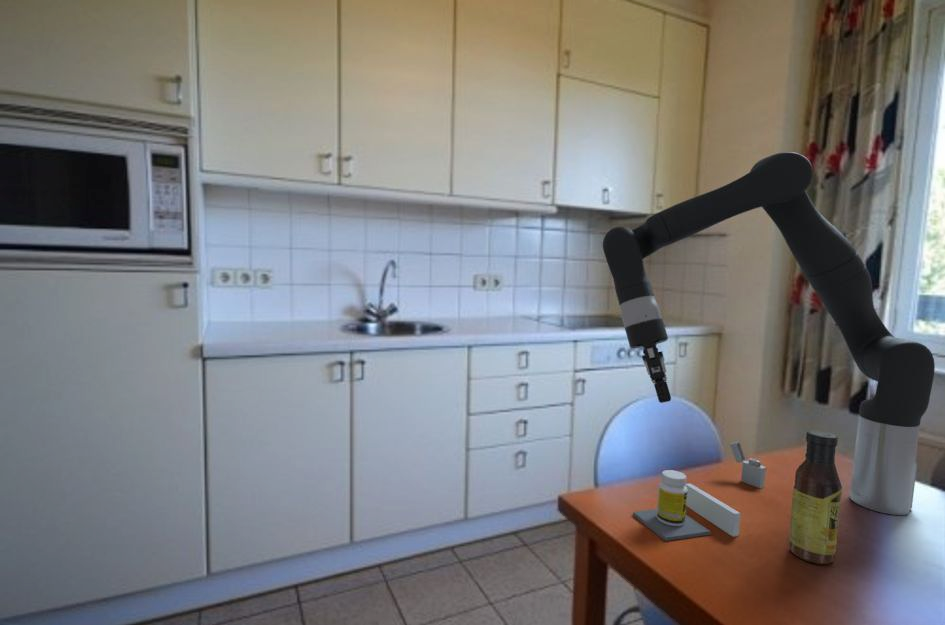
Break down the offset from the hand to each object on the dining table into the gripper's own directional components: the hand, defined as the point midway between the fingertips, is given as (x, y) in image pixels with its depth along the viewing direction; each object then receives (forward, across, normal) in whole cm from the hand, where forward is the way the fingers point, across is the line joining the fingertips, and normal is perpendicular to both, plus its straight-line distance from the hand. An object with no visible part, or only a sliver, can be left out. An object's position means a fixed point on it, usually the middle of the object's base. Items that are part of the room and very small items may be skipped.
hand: (665, 401), depth 98 cm
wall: (+22, -2, -2) cm, 22 cm away
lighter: (+20, +20, -11) cm, 30 cm away
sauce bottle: (+28, -8, -15) cm, 32 cm away
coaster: (+21, -8, +5) cm, 23 cm away
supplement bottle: (+20, -8, +5) cm, 22 cm away
